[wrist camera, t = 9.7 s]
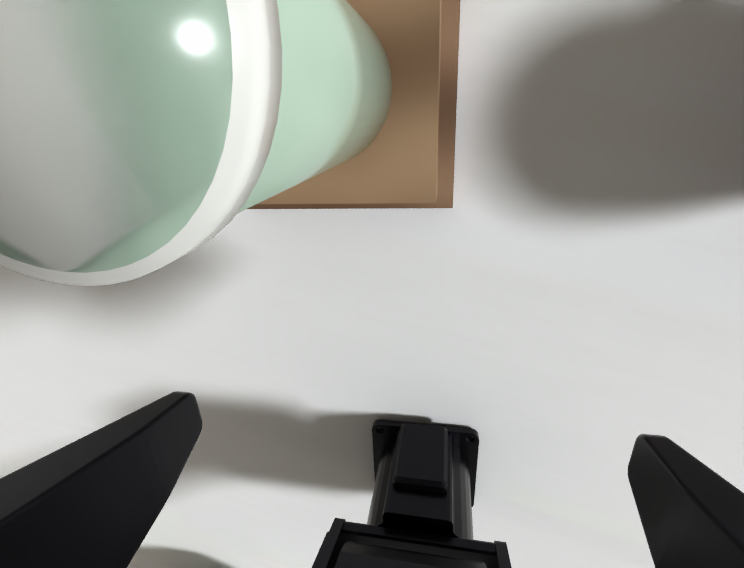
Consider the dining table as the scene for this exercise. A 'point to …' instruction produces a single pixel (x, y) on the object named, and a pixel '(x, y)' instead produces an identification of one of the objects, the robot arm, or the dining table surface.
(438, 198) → the pedestal
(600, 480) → the dining table surface
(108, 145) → the tumbler
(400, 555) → the robot arm
